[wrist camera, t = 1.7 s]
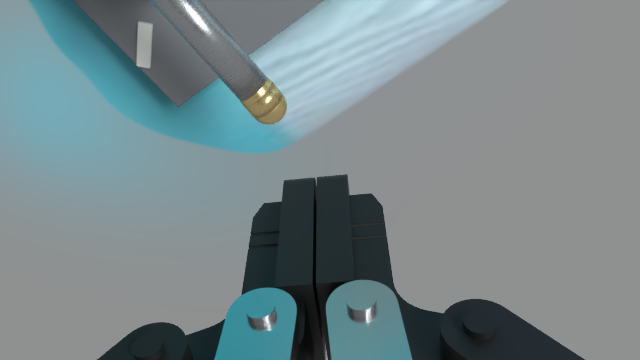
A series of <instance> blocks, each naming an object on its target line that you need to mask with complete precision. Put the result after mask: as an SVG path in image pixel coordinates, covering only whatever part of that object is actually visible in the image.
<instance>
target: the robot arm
mask: <svg viewBox="0 0 640 360" xmlns="http://www.w3.org/2000/svg"><path fill="white" fill-rule="evenodd" d="M325 343H326V349H327V356H328V360H584V359H583V358H581V357H580V356H578V355H577V354H575V353H574V352H572V351H571V350H569V349H568V348H566V347H564V346H563V345H561V344H560V343H558V342H557V341H555V340H554V339H552V338H551V337H549V336H548V335H546V334H544V333H543V332H541V331H540V330H538V329H537V328H535V327H534V326H532V325H531V324H529V323H527V322H526V321H525V320H523V319H521V318H520V317H518V316H517V315H515V314H514V313H512V312H511V311H509V310H507V309H506V308H504V307H503V306H501V305H499V304H497V303H494V302H492V301H488V300H482V299H469V300H464V301H460V302H458V303H455V304H453V305H452V306H450V307H449V308H448V309H447V310H446V311H445V313H444V314H443V313H438V312H432V311H427V310H423V309H420V308H417V307H414V306H413V305H411V304H409V303H407V302H406V301H405V300H403V299H402V298H401V297H400V296H399V294H398V293H397V291H396V289H395V287H394V283H393V278H392V270H391V264H390V256H389V250H388V242H387V236H386V229H385V221H384V214H383V207H382V205H381V204H380V203H379V202H378V201H377V199H376V198H375V197H374V196H373V195H372V194H360V195H350V194H349V186H348V177H347V175H336V176H325V177H317V186H316V180H315V178H305V179H295V180H285V181H284V185H283V196H282V202H273V203H264V204H263V205H262V207H261V208H260V209H259V211H258V212H257V213H256V215H255V216H254V217H253V222H252V229H251V236H250V242H249V250H248V255H247V262H246V269H245V276H244V282H243V289H242V295H241V296H240V297H239V298H237V299H236V300H235V301H234V303H232V305H231V306H230V308H229V309H228V312H227V315H226V318H225V319H224V320H223V321H221V322H220V323H218V324H216V325H214V326H211V327H209V328H206V329H204V330H201V331H198V332H195V333H192V334H189V335H186V336H185V334H184V332H183V331H182V330H181V329H180V328H179V327H178V326H175V325H174V324H170V323H164V322H162V323H161V322H160V323H152V324H148V325H145V326H142V327H140V328H138V329H136V330H134V331H132V332H131V333H130V334H128V335H127V336H126V337H125V338H123V339H122V340H121V341H120V342H118V343H117V344H116V345H115V346H114V347H112V348H111V349H110V350H109V351H107V352H106V353H105V354H104V355H103V356H101V357H100V358H99V359H98V360H325Z"/></svg>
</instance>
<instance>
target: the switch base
mask: <svg viewBox="0 0 640 360" xmlns="http://www.w3.org/2000/svg"><path fill="white" fill-rule="evenodd" d="M74 1H75V2H76V3H77V4H78V5H79V6H80V7H81V8H82V9H83V10H84V11H85V13H86V14H87V15H88V16H89V17H90V18H91V19H92V20H93V21H94V22H95V23H96V24H97V25H98V26H99V27H100V28H101V29H102V30H103V31H104V32H105V33H106V34H107V35H108V36H109V37H110V38H111V39H112V40H113V41H114V42H115V43H116V44H117V45H118V46H119V47H120V48H121V49H122V50H123V51H124V52H125V53H126V54H127V55H128V57H129V58H130V59H131V60H132V61H133V62H134V63H135V64H136V66H138V67H139V68H140V69H141V70H142V71H143V72H144V73H145V74H146V75H147V76H148V77H149V78H150V79H151V80H152V81H153V82H154V83H155V84H156V85H157V86H158V87H159V88H160V89H161V90H162V91H163V92H164V93H165V94H166V95H167V96H168V97H169V98H170V99H171V100H172V102H173V103H174V104H175V105H176V106H177V107H179V106H180V105H181V104H183V103H184V102H186V101H187V100H188V99H190V98H191V97H192V96H194V95H195V94H197V93H198V92H199V91H201V90H202V89H203V88H205V87H206V86H207V85H209V84H210V83H212V82H213V81H214V80H216V79H217V78H218V76H217V74H216V73H215V72H214V71H213V70H212V69H211V68H210V67H209V66H208V64H207V63H206V62H205V61H204V60H203V59H202V58H201V57H200V56H199V55H198V53H197V52H196V51H195V50H194V49H193V48H192V47H191V46H190V45H189V43H188V42H187V41H186V40H185V39H184V38H183V37H182V36H181V35H180V34H179V32H178V31H177V30H176V29H175V28H174V27H173V26H172V25H171V24H170V22H169V21H168V20H167V19H166V18H165V17H164V16H163V15H162V14H161V13H160V11H159V10H158V9H157V8H156V7H155V6H154V5H153V4H152V3H151V1H150V0H74ZM201 1H202V2H203V3H204V4H205V5H206V7H207V8H208V9H209V10H210V11H211V13H212V14H213V15H214V16H215V17H216V18H217V20H218V21H219V22H220V23H221V24H222V25H223V27H224V28H225V29H226V30H227V31H228V32H229V34H230V35H231V36H232V37H233V38H234V39H235V41H236V42H237V43H238V44H239V45H240V46H241V48H242V49H243V50H244V51H245V52H246V53H247V55H250V54H251V53H253V52H254V51H255V50H257V49H258V48H259V47H261V46H262V45H264V44H265V43H266V42H268V41H269V40H270V39H272V38H273V37H274V36H276V35H277V34H279V33H280V32H281V31H283V30H284V29H285V28H287V27H288V26H290V25H291V24H292V23H294V22H295V21H296V20H298V19H299V18H300V17H302V16H303V15H305V14H306V13H307V12H309V11H310V10H311V9H313V8H314V7H315V6H317V5H318V4H320V3H321V2H322V1H324V0H201Z"/></svg>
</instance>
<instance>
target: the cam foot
mask: <svg viewBox="0 0 640 360" xmlns="http://www.w3.org/2000/svg"><path fill="white" fill-rule="evenodd" d="M150 1H151V3H152V4H153V5H154V6H155V7H156V8H157V9H158V10H159V11H160V13H161V14H162V15H163V16H164V17H165V18H166V19H167V20H168V21H169V22H170V24H171V25H172V26H173V27H174V28H175V29H176V30H177V31H178V32H179V34H180V35H181V36H182V37H183V38H184V39H185V40H186V41H187V42H188V43H189V45H190V46H191V47H192V48H193V49H194V50H195V51H196V52H197V53H198V55H199V56H200V57H201V58H202V59H203V60H204V61H205V62H206V63H207V64H208V66H209V67H210V68H211V69H212V70H213V71H214V72H215V73H216V74H217V76H218V77H219V78H220V79H221V80H222V81H223V82H224V83H225V84H226V85H227V87H228V88H229V89H230V90H231V91H232V92H233V93H234V94H235V95H236V97H237V98H238V99H239V100H240V101H241V103H242V105H243V106H244V107H245V108H246V109H247V110H248V111H249V113H250V114H251V115H252V116H253V117H254V118H255V119H256V120H257V121H259V122H261V123H263V124H274V123H277V122H278V121H280V120H281V119H282V118H283V117H284V115H285V113H286V109H287V103H286V99H285V97H284V95H283V94H282V93H281V92H280V90H279V89H278V88H277V87H276V86H275V84H274V83H273V82H272V81H271V80H270V79H269V78H268V77H266V76H265V74H264V73H263V72H262V71H261V70H260V69H259V67H258V66H257V65H256V64H255V63H254V62H253V60H252V59H251V58H250V57H249V56H248V55H247V53H246V52H245V51H244V50H243V49H242V48H241V46H240V45H239V44H238V43H237V42H236V41H235V39H234V38H233V37H232V36H231V35H230V34H229V32H228V31H227V30H226V29H225V28H224V27H223V25H222V24H221V23H220V22H219V21H218V20H217V18H216V17H215V16H214V15H213V14H212V13H211V11H210V10H209V9H208V8H207V7H206V5H205V4H204V3H203V2H202V1H201V0H150Z"/></svg>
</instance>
